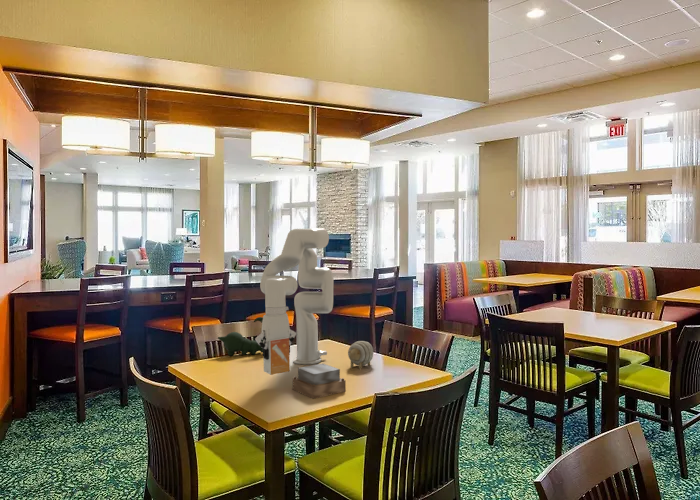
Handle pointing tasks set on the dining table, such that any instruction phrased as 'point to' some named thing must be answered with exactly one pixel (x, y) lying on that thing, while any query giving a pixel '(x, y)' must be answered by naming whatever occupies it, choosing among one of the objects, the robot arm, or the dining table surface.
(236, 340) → the toy figurine
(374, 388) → the dining table surface
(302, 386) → the grey and wooden block
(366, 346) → the toy sheep
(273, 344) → the small box
